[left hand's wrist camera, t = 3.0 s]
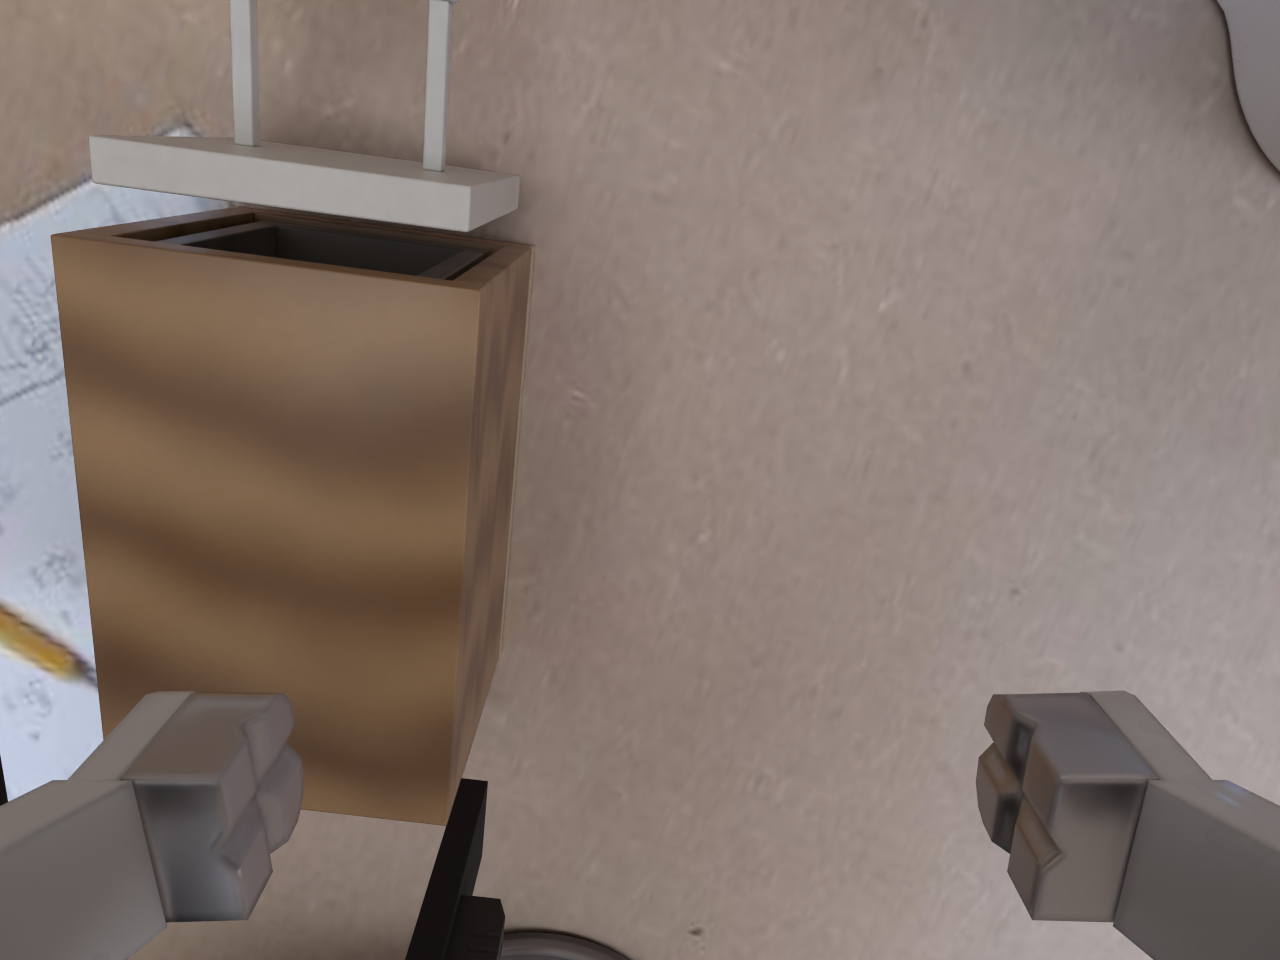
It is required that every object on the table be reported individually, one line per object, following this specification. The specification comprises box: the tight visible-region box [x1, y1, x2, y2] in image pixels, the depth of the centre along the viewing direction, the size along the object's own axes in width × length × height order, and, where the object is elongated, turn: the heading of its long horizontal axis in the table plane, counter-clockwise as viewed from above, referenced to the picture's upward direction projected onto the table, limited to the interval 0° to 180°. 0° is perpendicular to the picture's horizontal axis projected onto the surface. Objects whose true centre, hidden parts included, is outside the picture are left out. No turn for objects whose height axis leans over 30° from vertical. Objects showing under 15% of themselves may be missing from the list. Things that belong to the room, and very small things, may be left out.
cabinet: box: [51, 206, 535, 826], centre depth 31 cm, size 18×11×11 cm, turn 173°
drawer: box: [89, 0, 520, 281], centre depth 29 cm, size 23×10×9 cm, turn 173°
